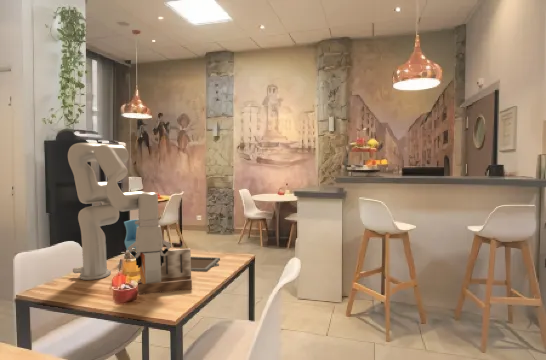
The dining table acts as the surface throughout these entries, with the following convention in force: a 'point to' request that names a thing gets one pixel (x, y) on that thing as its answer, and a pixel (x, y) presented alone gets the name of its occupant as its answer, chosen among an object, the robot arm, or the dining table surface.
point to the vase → (130, 233)
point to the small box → (150, 267)
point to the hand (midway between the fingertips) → (150, 265)
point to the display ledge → (172, 273)
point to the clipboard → (203, 263)
